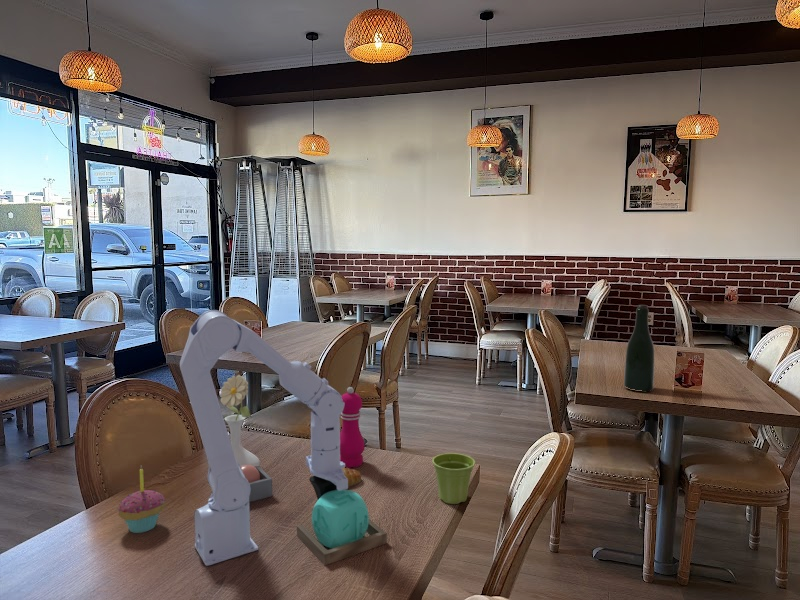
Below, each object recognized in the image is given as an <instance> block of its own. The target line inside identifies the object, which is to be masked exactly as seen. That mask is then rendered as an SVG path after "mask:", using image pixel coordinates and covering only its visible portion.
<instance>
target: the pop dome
mask: <svg viewBox="0 0 800 600" xmlns="http://www.w3.org/2000/svg"><path fill="white" fill-rule="evenodd" d="M241 469H242V472H243V474H244V476H245V478H246V479H247V480H248V482H249V483H251V482H255V481H259V480H260V474H259V472H258V470H257V469H256V468H255V467H254V466H252V465H243V466H241Z"/></svg>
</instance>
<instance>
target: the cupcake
mask: <svg viewBox="0 0 800 600" xmlns="http://www.w3.org/2000/svg"><path fill="white" fill-rule="evenodd" d="M144 482H145V481H144V469H143V466H142V464H141V465H140V469H139V488H140V489H139V490H137V491H134V492H132V493H130V494H128V495H127V496H125V497H124V498H123V500H120V502H119V504H118V507H117V509H118V517H119V518H121V519H122V520H124V522H126V525H127V527H128V531H129V532H131V533H134V534H142V533H145V532H149V531H151V530H153V529H154V528H155V527H156V525H157V521H158V519H159V518H158V517H159V515H160V513H161V512H162V511H163V510H164V509H165V507H166V505H167V504H166V503H167V502H166V497H165V496H164V495H163V494H162V493H160V492H159V491H156V490H153V489H145V488H144V487H145V486H144V485H145V483H144Z"/></svg>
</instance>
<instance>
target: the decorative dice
mask: <svg viewBox="0 0 800 600" xmlns="http://www.w3.org/2000/svg"><path fill="white" fill-rule="evenodd" d="M369 517H370V515H369V510H368V507H367V504H366V502H365V500H364V499H363V497H362V496H361V495H360V494H359V493H358V492H355V491H353V490H351V489H350V490H348V489H344V490H340V491H338V490H333V491H330V492H327V493H325V494H323V495H322V496H321V497H320V498H319V499H317V501H316V502H315V504H314V506H313V509H312V512H311V522H312V523H311V524H312V527H313V530H314V534H315V537H317V538H316V539H317V540H318V541H319V542H320V543H321V544H322V545H323V546H325V547H326V548H329V549H333V548H336V547H338V546H341V545H344V544H347V543H350V542H353V541H356V540H359V539H362V538H364V536H365V535H366V533H367V531H366V530H367V528H368V524H369V519H370V518H369Z"/></svg>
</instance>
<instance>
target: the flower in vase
mask: <svg viewBox="0 0 800 600" xmlns="http://www.w3.org/2000/svg"><path fill="white" fill-rule="evenodd" d="M222 385H223V386H222V387H221V390H220V393H219V397H221V398H220V404H221V403H222V405H223V406H225V407H226V408H228V409H229V410H231V411H232V412H234V413H235V414H232V415H228V416H225V417H224V422H225V423H226V424H227V425H228V428H229V431H230V432H229V433H230V442H231V446H232V449H233V452H234V455H235V458H236V461H237V462H238V463H239V464H240V466H243V465H252V466H259V467H261V460H260V459H259V457H257V456H256V455H255V454H254V453H252V452H250V451H249V450H247V449H246V448H245V447H243V445H242V441H241V434H242V433H241V431H242V427H243V426H242V425H243V423H244V422H245V420H246V418H249V417H251V415H252V414H251V413H250V409H249V407H248V406H247V405H246V406H243V400H244V399H245V398H246V395H247V394H248V392H249V390H248V389H249V386H248V385H249V382H248V381H247V380H246V378H245V377H244V378H243V376H241V375H240V374H238V375H237V376H235V375H232V376H231V377H229V378H227V381H224V382H223V384H222ZM238 405H240V409H239V410H238V408H236V407H237V406H238Z"/></svg>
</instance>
